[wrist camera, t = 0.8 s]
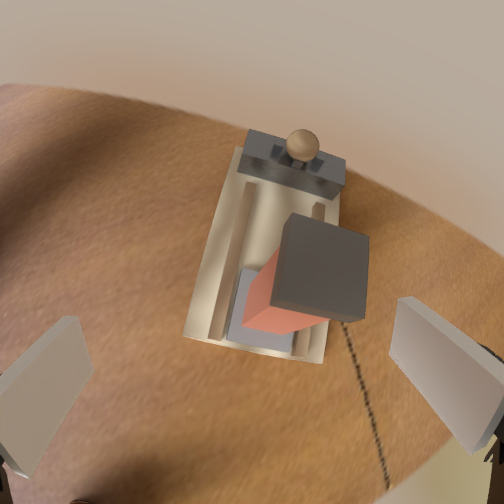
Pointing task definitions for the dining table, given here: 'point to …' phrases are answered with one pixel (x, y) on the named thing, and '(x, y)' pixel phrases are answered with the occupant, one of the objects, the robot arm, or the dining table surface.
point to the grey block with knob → (291, 166)
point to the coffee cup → (79, 502)
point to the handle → (301, 284)
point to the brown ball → (302, 145)
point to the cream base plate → (251, 257)
